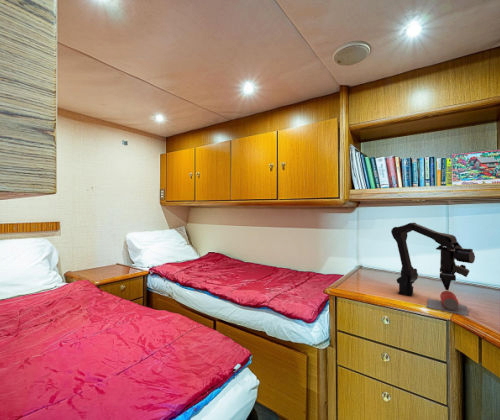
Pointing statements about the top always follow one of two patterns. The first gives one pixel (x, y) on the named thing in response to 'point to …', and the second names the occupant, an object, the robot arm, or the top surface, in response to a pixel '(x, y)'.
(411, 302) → the top surface
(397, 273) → the top surface
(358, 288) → the top surface
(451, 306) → the beer can
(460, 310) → the mat
